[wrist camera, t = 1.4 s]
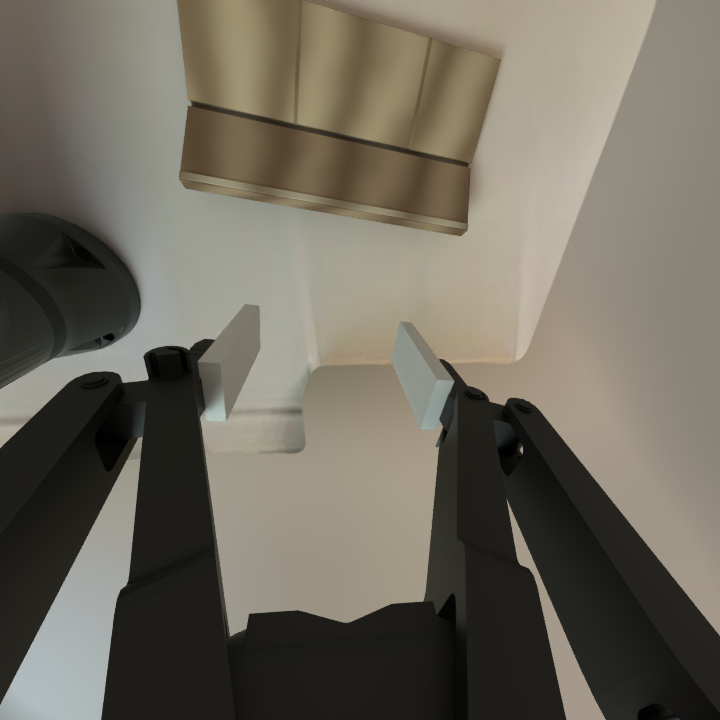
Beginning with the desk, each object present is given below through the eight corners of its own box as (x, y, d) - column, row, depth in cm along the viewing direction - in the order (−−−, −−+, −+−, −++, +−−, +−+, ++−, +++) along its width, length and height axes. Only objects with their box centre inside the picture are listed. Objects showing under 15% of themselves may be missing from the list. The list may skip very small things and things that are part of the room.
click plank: (185, 188, 25) (178, 178, 24) (193, 117, 26) (187, 104, 25) (461, 236, 30) (467, 230, 29) (464, 175, 31) (470, 167, 29)
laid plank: (193, 107, 26) (188, 103, 25) (180, -27, 22) (172, -40, 21) (465, 167, 30) (470, 166, 29) (494, 65, 27) (501, 59, 25)
